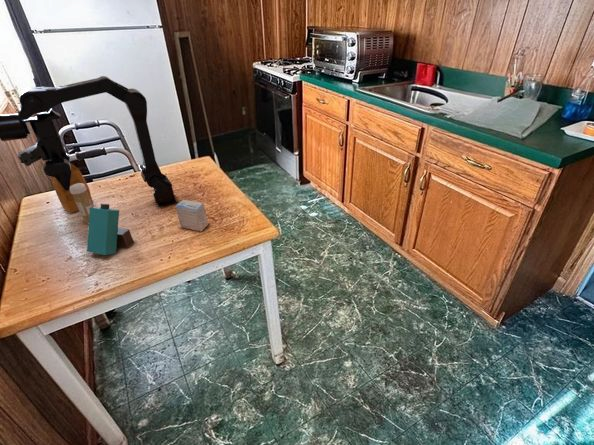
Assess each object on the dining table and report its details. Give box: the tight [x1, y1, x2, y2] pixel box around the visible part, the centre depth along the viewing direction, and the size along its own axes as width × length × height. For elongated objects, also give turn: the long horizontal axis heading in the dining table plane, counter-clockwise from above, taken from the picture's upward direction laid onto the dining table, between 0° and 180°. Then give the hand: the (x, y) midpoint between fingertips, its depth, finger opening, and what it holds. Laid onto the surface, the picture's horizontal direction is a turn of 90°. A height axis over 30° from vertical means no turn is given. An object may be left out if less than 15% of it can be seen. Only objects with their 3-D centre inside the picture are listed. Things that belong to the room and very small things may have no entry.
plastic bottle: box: [86, 203, 120, 256], centre depth 97 cm, size 10×7×14 cm, turn 164°
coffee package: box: [50, 162, 94, 214], centre depth 117 cm, size 10×12×22 cm
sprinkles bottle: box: [70, 183, 95, 225], centre depth 110 cm, size 5×5×14 cm
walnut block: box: [116, 227, 135, 249], centre depth 101 cm, size 3×10×5 cm, turn 74°
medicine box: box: [175, 199, 209, 232], centre depth 107 cm, size 8×4×9 cm, turn 71°
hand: (66, 184), depth 103 cm, fingers open, 9 cm apart
